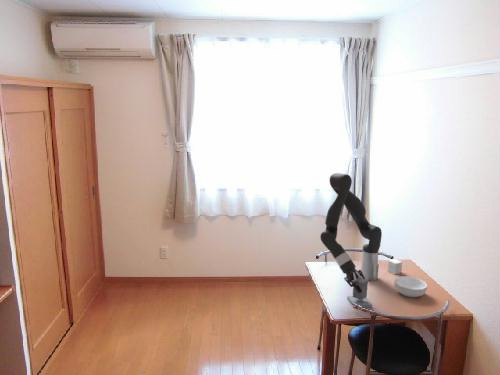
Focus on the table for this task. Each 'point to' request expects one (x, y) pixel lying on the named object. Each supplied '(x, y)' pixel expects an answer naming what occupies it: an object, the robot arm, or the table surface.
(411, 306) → the table surface
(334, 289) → the table surface
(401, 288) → the cereal bowl
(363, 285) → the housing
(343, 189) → the robot arm
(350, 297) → the stub base
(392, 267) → the product box
